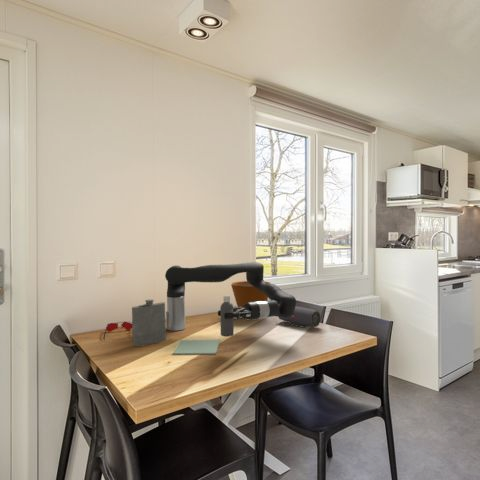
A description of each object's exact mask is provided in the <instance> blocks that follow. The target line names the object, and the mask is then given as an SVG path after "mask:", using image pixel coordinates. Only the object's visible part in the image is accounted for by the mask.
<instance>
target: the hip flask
mask: <svg viewBox="0 0 480 480" xmlns="http://www.w3.org/2000/svg"><path fill="white" fill-rule="evenodd" d="M131 317H132V318H131V320H132V321H131V322H132V323H131V324H132V328H131V331H132V330H133V336H132V347H133V346H139V347H143V346H142V345H145V346H148V344H149V345H153V343H154V344H156V343H157V342H158V343H160V342H164V341H166V340H167V339H166V336H167V335H166V331H167V328H166V303H165V302H161V301H160V302H157V303H156V302H155V303H154V299H146V300H145V304H141V305H135V306H132V307H131Z"/></svg>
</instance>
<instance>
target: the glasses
mask: <svg viewBox="0 0 480 480" xmlns="http://www.w3.org/2000/svg"><path fill="white" fill-rule="evenodd" d="M120 323H121V324H120ZM119 324H120V326H121V329H123V328H124V329H125V330H126V331H130V330H131V331H132V332H131V333H132V337H133V330H132V321H130V322H129V321H123V322H122V321H119V322H110V323H107V325H106V327H105V330H104V333H103V337H102V340H103V339H104V340H105V338H106V333H107V332H108V331H110V332H112V331H114V330H118V329H119ZM129 329H130V330H129Z"/></svg>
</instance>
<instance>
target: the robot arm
mask: <svg viewBox="0 0 480 480" xmlns="http://www.w3.org/2000/svg"><path fill="white" fill-rule="evenodd" d="M264 267H265V266H264V264H262V263H261V262H257V261H255V262H253V261H252V262H242V263H232V264H209V265H207V264H206V265H201V266H197V267H181V266H180V265H172V266H170V267H169V268H168V269H167V270H166V271H165V275H164V277H165V280H166V281H167V289H166V311H165V327H166V331H174V332H175V331H181V330H183V331H184V330H185V329H186V301H185V300H186V299H185V298H186V297H185V296H186V294H185V291H186V283H222V282H224V281H227V280H228V279H231V278H232V277H233V276H235V275H238V274H242V273H246V274H245V275H246V276H245V277H246V281H248V283H249V284H251V285H252V286H254V287H255V288H257V289H258V290H260V291H261V292H263V293H264V294H265V295H266V296H267V297H268V300H267V301H256V302H248V303H245V305H244V307H243V308H242V307H237V305H235V306H233V313H232V312H231V313H225V314H224V319H230V318H234V319H235V320H246V319H247V321H252V320H253V321H254V319H256V320H260V319H265V318H270V317H283V318H290V317H291V316H293V314H294V310H295V306H297V298H296V297H295V296H294V295H292V294H289V293H287V292H285V291H283V290H282V289H281V288H280V287H279V286H278V285H277V284H274V283H271V282H270V283H268V284H266V283H265V282H266V281H265V280H264V269H265V268H264ZM264 281H265V282H264ZM217 315H218V317H221V316H220V309H219V310H217Z"/></svg>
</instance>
